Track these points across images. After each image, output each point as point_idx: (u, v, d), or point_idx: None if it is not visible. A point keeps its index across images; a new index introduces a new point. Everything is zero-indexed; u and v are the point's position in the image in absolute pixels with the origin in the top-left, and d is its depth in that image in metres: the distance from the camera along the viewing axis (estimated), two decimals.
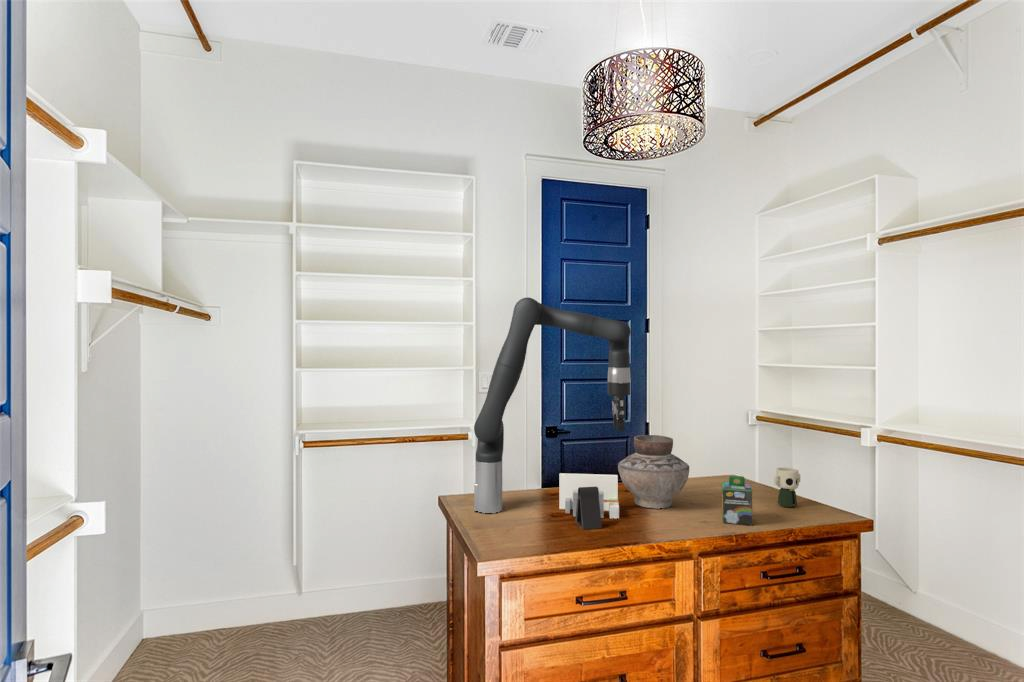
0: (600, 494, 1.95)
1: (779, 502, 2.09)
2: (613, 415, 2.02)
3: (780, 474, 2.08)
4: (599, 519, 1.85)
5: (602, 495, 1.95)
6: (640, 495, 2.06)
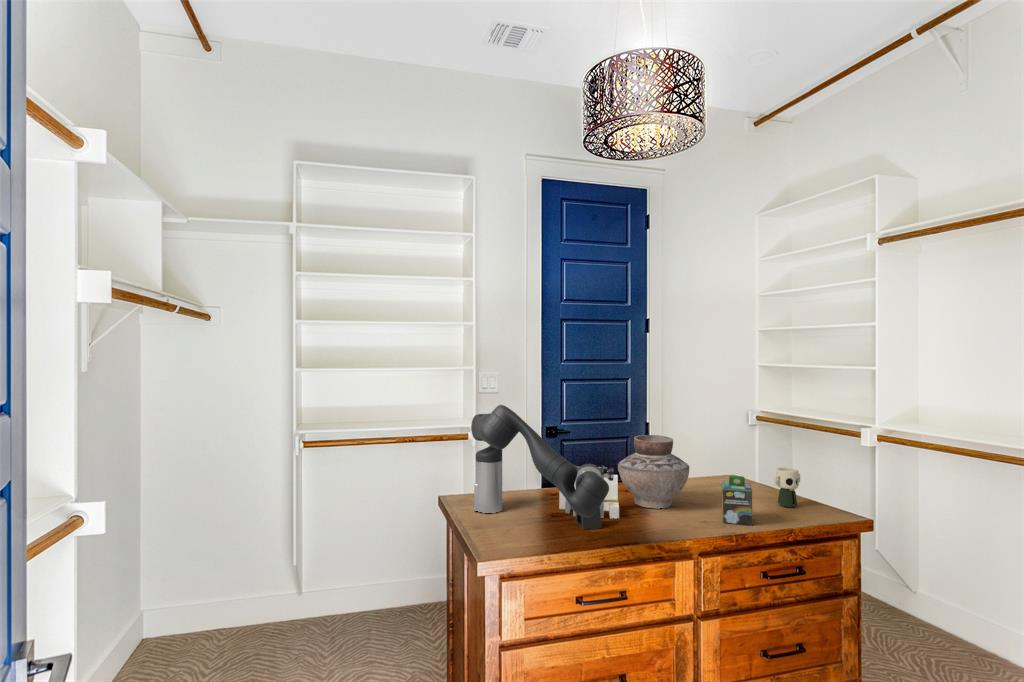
0: None
1: (779, 502, 2.09)
2: None
3: (780, 474, 2.08)
4: (599, 519, 1.85)
5: None
6: (640, 495, 2.06)
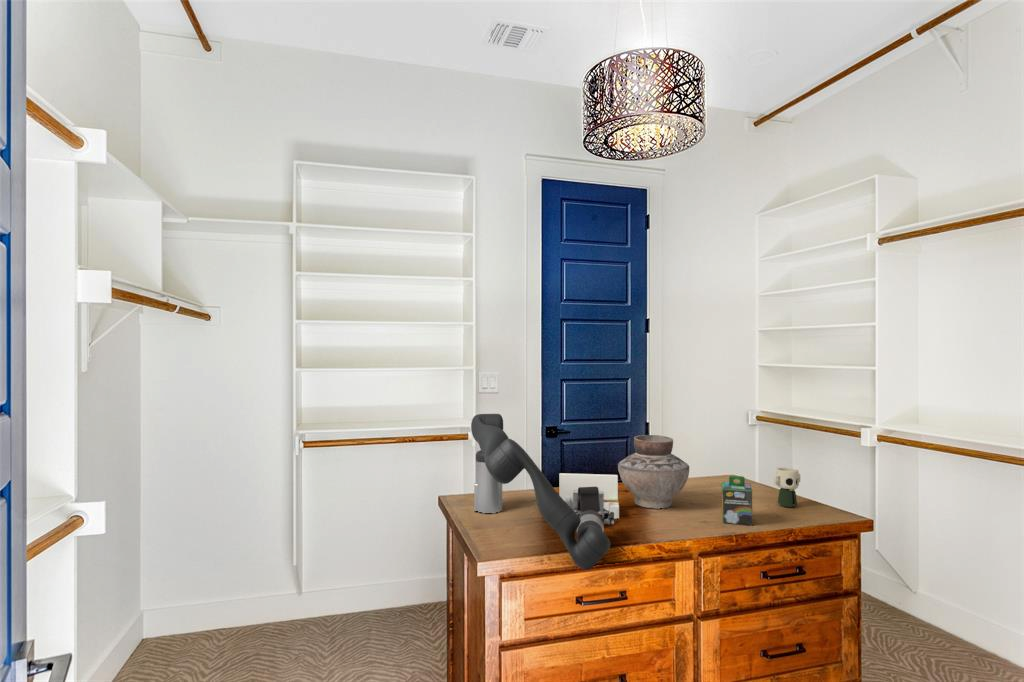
0: (600, 494, 1.95)
1: (779, 502, 2.09)
2: None
3: (780, 474, 2.08)
4: None
5: (602, 495, 1.95)
6: (640, 495, 2.06)
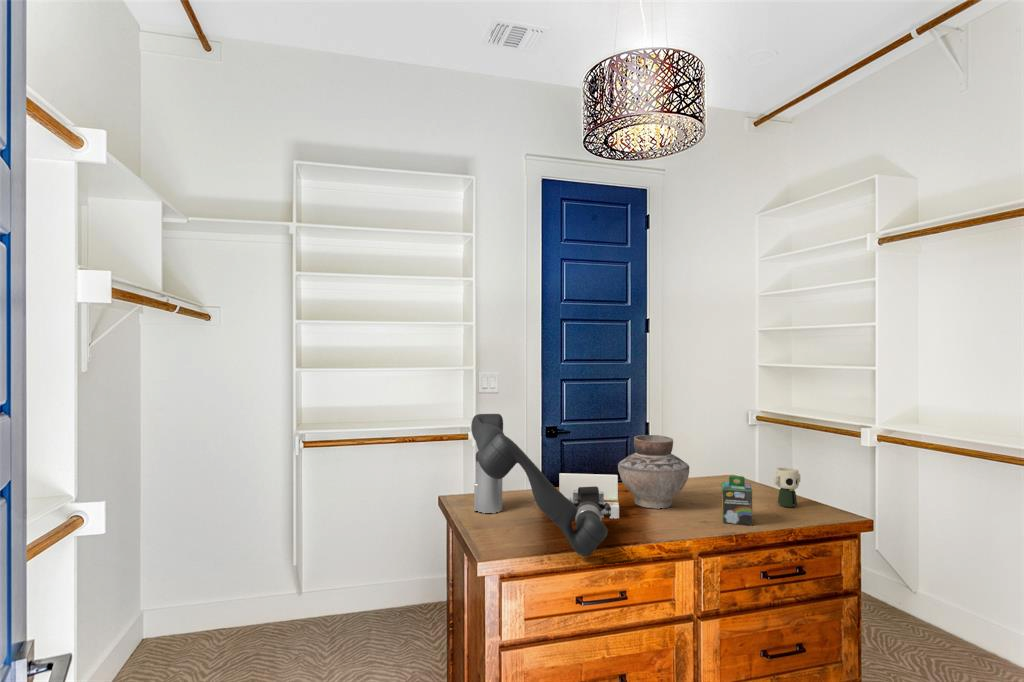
0: (600, 494, 1.95)
1: (779, 502, 2.09)
2: None
3: (780, 474, 2.08)
4: None
5: (602, 495, 1.95)
6: (640, 495, 2.06)
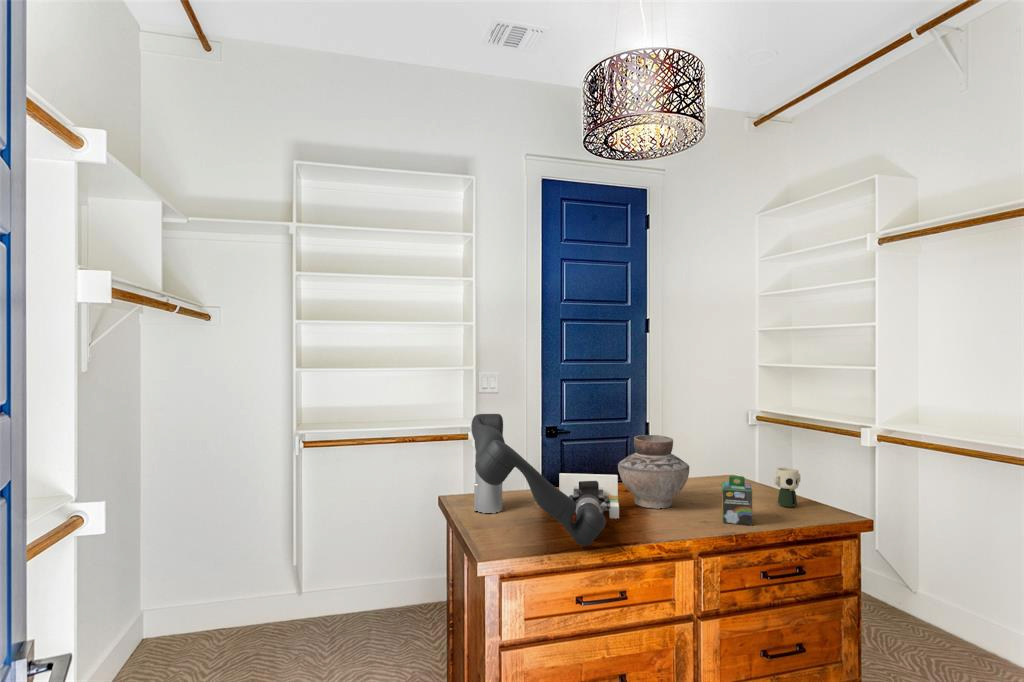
0: (600, 490, 2.00)
1: (779, 502, 2.09)
2: None
3: (780, 474, 2.08)
4: None
5: (602, 491, 2.00)
6: (640, 495, 2.06)
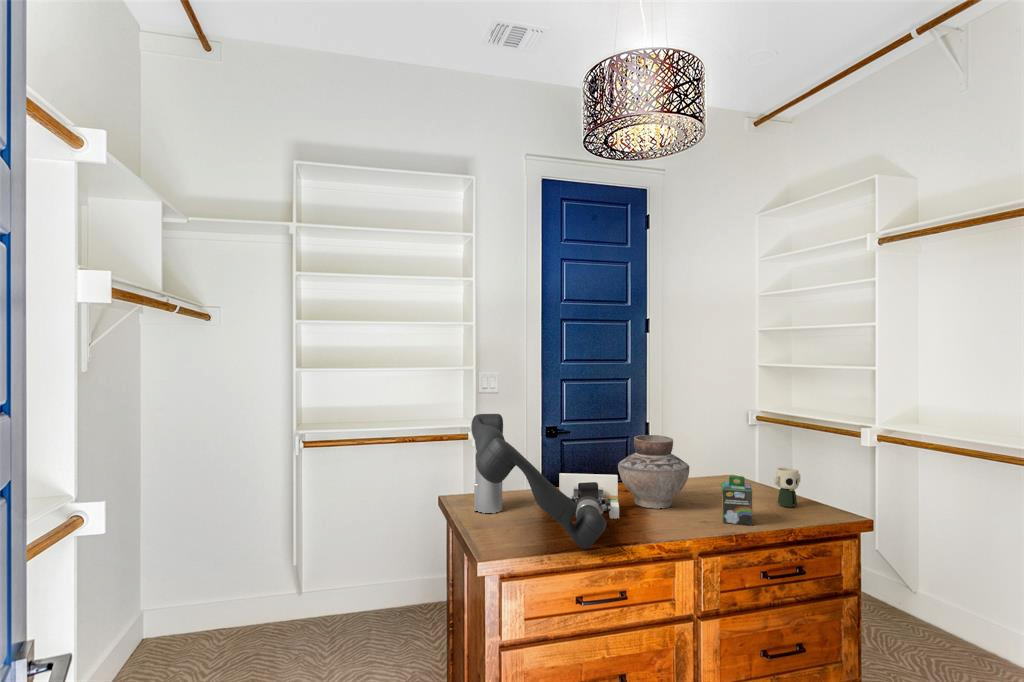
0: (600, 490, 2.00)
1: (779, 502, 2.09)
2: None
3: (780, 474, 2.08)
4: None
5: (602, 491, 2.00)
6: (640, 495, 2.06)
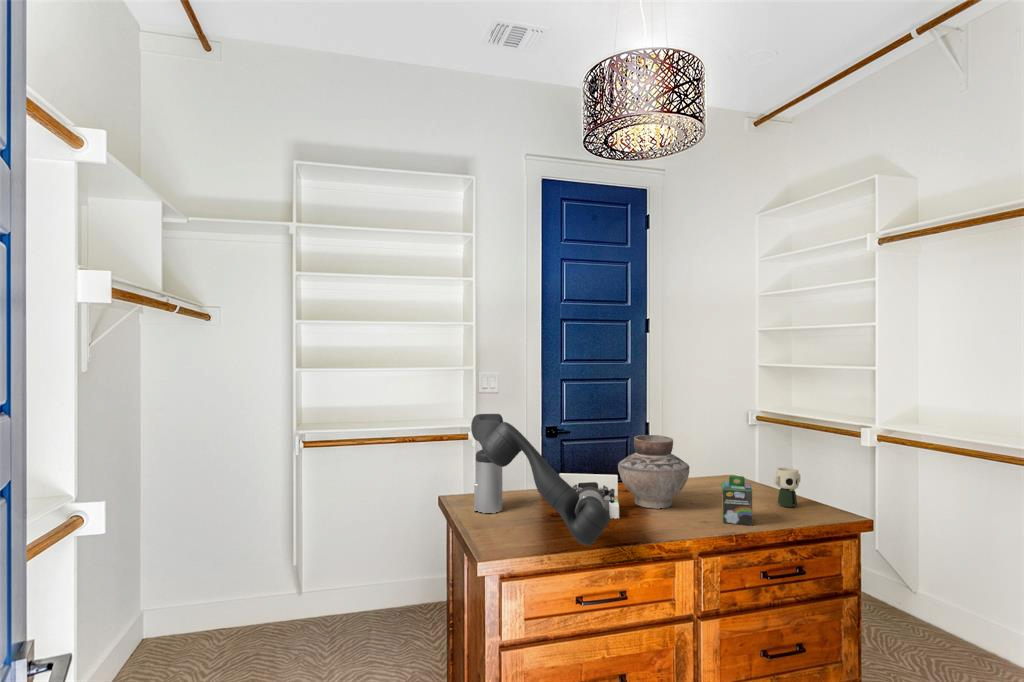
0: None
1: (779, 502, 2.09)
2: None
3: (780, 474, 2.08)
4: None
5: None
6: (640, 495, 2.06)
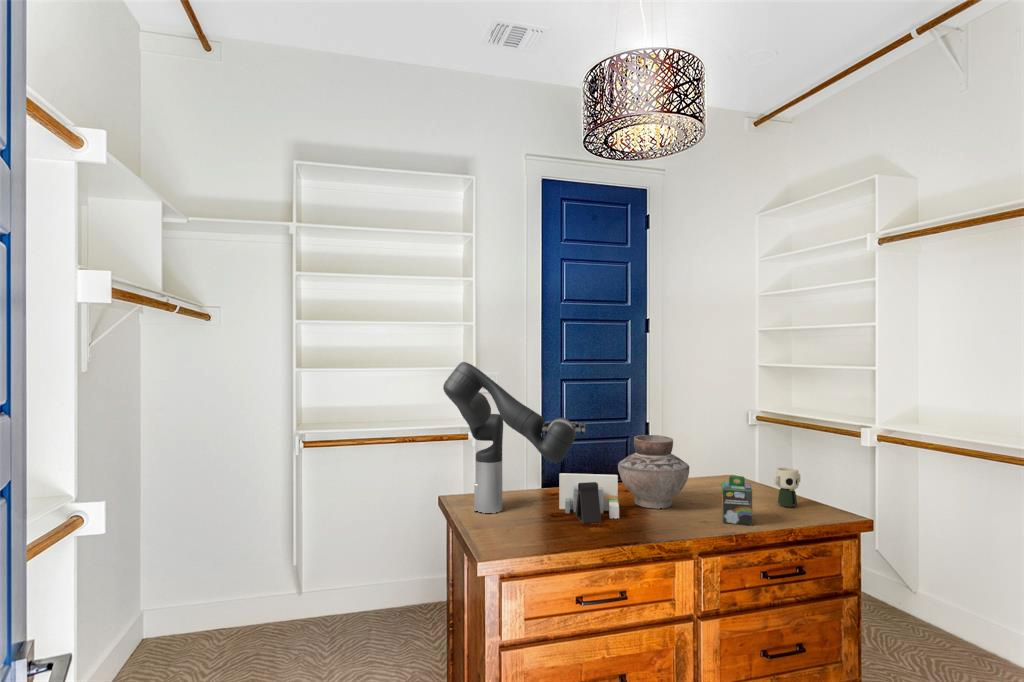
0: (600, 490, 2.00)
1: (779, 502, 2.09)
2: None
3: (780, 474, 2.08)
4: (599, 513, 1.91)
5: (602, 491, 2.00)
6: (640, 495, 2.06)
